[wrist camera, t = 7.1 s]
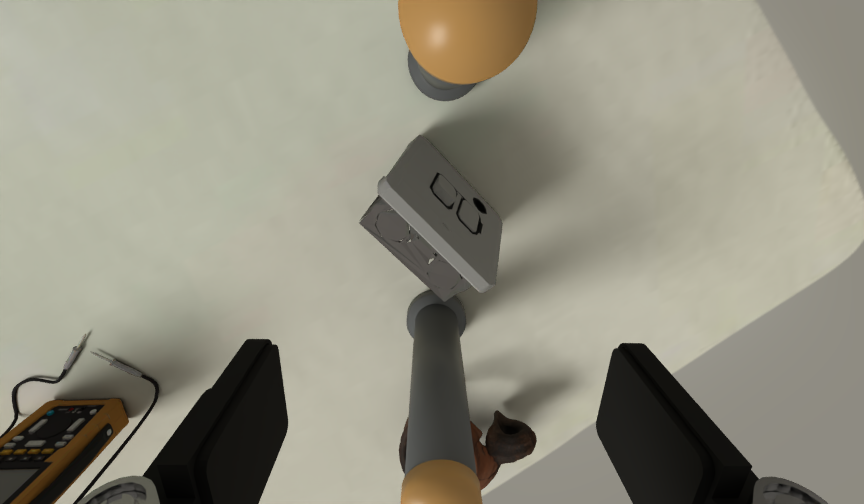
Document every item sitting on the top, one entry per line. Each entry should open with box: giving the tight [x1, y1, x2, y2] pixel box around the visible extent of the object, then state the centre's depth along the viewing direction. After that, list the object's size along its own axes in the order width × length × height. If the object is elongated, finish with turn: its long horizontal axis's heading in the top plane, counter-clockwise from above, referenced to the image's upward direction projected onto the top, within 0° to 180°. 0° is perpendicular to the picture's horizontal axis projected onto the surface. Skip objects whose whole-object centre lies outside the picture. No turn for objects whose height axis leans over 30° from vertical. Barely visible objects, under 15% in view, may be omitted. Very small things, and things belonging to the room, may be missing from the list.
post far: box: [401, 290, 482, 504], centre depth 27 cm, size 5×5×18 cm
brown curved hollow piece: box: [399, 411, 537, 490], centre depth 37 cm, size 12×9×8 cm
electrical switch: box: [360, 135, 503, 302], centre depth 27 cm, size 9×5×9 cm, turn 44°
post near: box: [398, 0, 537, 101], centre depth 19 cm, size 5×5×18 cm
